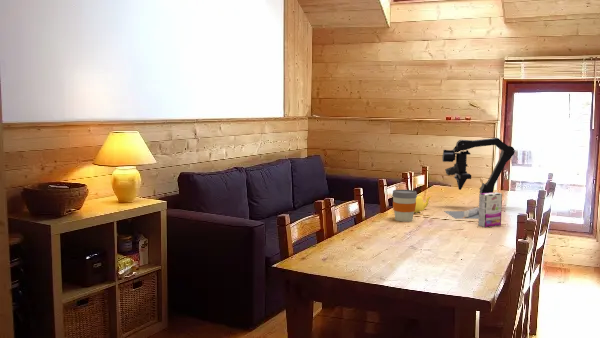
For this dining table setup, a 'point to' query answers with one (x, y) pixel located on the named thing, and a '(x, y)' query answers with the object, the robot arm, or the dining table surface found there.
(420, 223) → the dining table surface
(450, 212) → the dial plate
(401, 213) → the reusable coffee cup
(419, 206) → the teapot
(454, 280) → the dining table surface
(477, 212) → the dial lever
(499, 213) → the candy bar box
